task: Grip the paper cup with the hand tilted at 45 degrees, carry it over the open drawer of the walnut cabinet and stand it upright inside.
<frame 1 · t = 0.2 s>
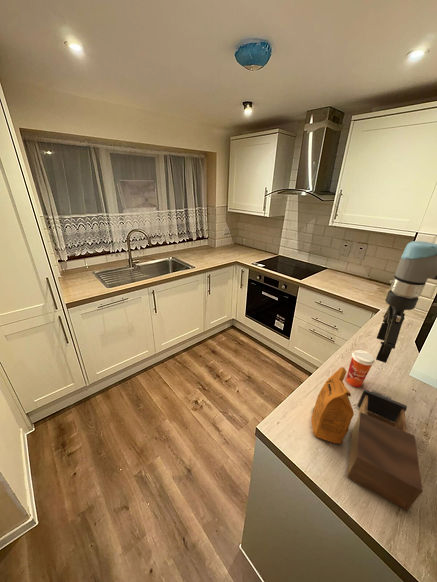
hand: (380, 349, 80), 23 cm above the worktop, tool pointing down, fingers open, 13 cm apart
drawer: (380, 415, 77), point 5 cm above the worktop, slide at 11.0 cm
paper cup: (353, 382, 96), on the worktop
coffee package: (326, 426, 78), on the worktop
cabinet: (375, 466, 68), on the worktop
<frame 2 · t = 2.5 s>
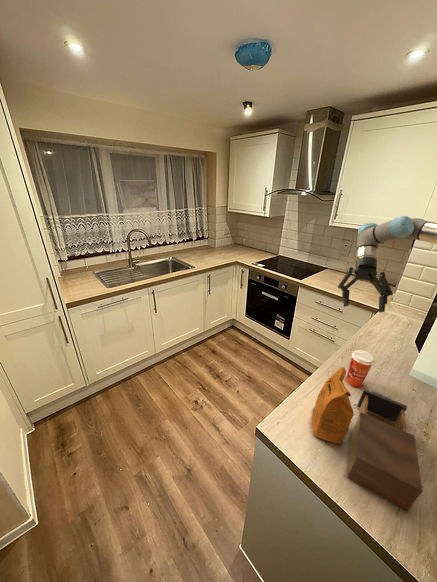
hand: (363, 309, 93), 29 cm above the worktop, tool tilted 40°, fingers open, 13 cm apart
nothing on the worktop moved.
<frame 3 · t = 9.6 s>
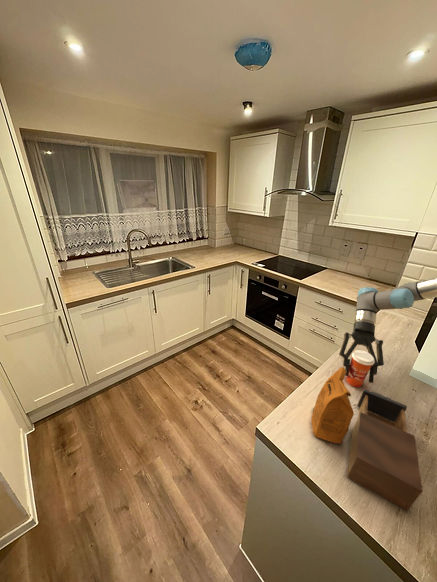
hand: (358, 379, 91), 5 cm above the worktop, tool tilted 45°, fingers closed on paper cup, 8 cm apart
paper cup: (353, 382, 96), on the worktop, touching gripper
everything else where it was.
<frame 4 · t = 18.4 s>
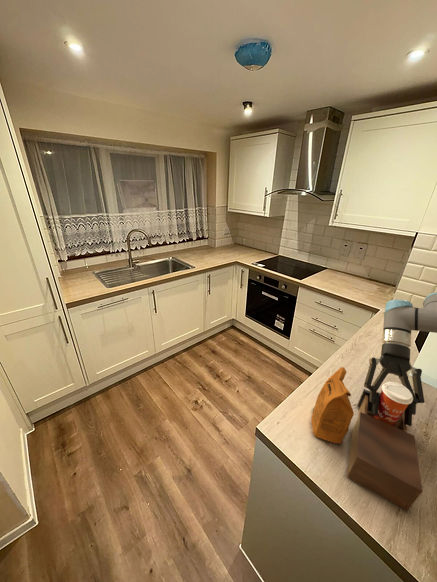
hand: (390, 419, 70), 10 cm above the worktop, tool tilted 45°, fingers closed on paper cup, 8 cm apart
paper cup: (382, 421, 75), point 5 cm above the worktop, touching gripper
everything else where it was.
when the fingers open (10 cm above the worktop, at t = 21.0 s): paper cup drops 3 cm, resting on drawer.
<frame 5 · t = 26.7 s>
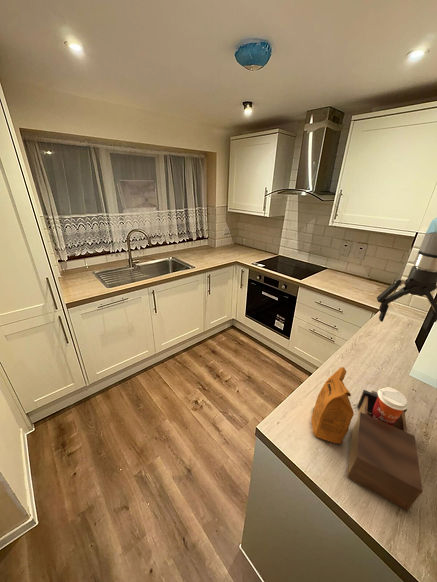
hand: (402, 324, 84), 29 cm above the worktop, tool pointing down, fingers open, 13 cm apart
drawer: (380, 416, 77), point 5 cm above the worktop, slide at 10.5 cm, touching paper cup
paper cup: (378, 426, 77), point 2 cm above the worktop, touching drawer
everything else where it was.
at the end: paper cup inside the target area in the drawer (0.5 cm from its centre), point 1.8 cm above the cabinet's base; paper cup tilted 0°; the gripper is holding nothing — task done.
